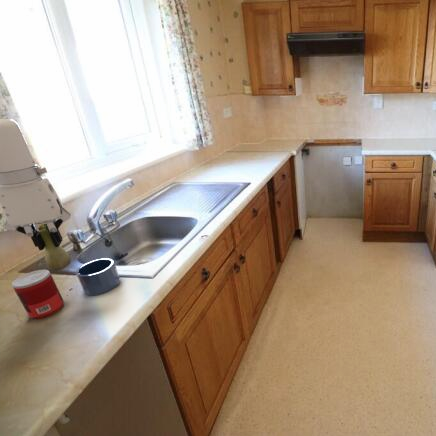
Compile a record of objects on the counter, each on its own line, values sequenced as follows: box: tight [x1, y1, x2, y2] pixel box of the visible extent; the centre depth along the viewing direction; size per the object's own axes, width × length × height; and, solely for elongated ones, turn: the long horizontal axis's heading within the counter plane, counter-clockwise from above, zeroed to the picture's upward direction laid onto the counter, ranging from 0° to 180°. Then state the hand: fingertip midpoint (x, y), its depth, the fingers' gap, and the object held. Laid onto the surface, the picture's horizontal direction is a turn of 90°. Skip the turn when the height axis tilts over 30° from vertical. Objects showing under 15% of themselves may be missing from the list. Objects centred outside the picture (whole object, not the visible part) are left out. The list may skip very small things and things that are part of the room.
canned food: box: [11, 269, 65, 320], centre depth 89 cm, size 8×8×11 cm
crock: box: [75, 257, 121, 296], centre depth 99 cm, size 10×10×7 cm
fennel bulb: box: [38, 222, 72, 272], centre depth 81 cm, size 6×5×12 cm
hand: (50, 245), depth 81 cm, fingers closed on fennel bulb, 2 cm apart
